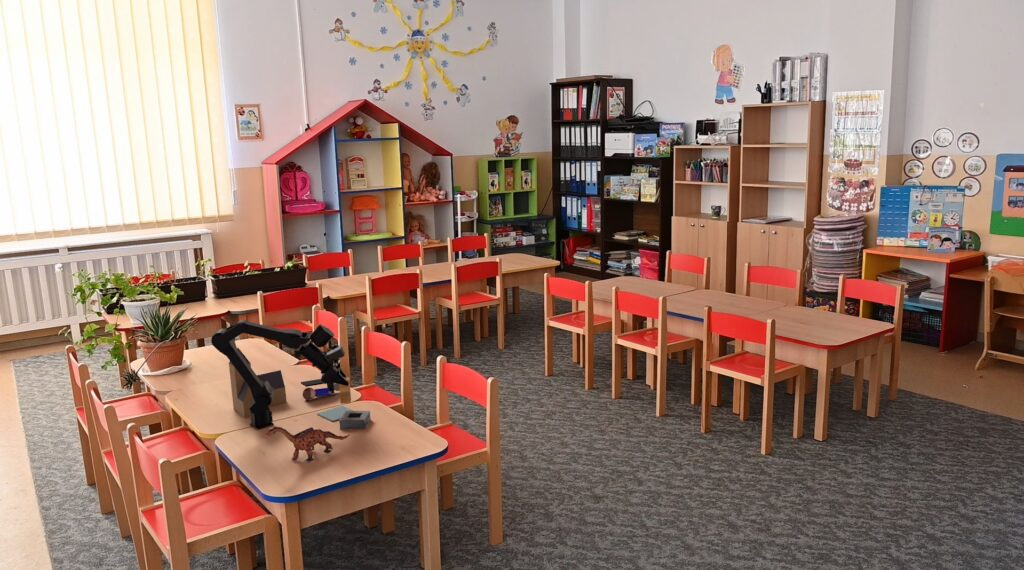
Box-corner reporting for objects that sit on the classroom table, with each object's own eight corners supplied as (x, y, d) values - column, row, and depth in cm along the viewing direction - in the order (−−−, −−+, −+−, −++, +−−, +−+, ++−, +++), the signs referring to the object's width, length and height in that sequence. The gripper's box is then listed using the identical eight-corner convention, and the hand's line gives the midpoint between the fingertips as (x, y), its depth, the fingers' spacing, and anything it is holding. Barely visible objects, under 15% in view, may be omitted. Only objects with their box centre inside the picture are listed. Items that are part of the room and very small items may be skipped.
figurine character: (335, 394, 325) (299, 398, 316) (336, 375, 324) (300, 379, 315) (342, 398, 319) (306, 402, 310) (342, 380, 318) (306, 383, 309)
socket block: (364, 429, 282) (364, 419, 282) (340, 429, 283) (339, 420, 282) (370, 419, 291) (369, 410, 290) (346, 419, 292) (345, 410, 291)
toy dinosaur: (262, 471, 250) (258, 426, 247) (336, 440, 274) (332, 398, 271) (279, 478, 245) (274, 432, 242) (352, 445, 269) (349, 403, 266)
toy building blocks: (233, 409, 307) (227, 347, 301) (280, 398, 318) (274, 337, 313) (244, 418, 297) (238, 354, 292) (292, 406, 308) (287, 344, 303)
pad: (332, 421, 290) (332, 420, 290) (317, 414, 298) (317, 413, 298) (358, 413, 297) (358, 412, 297) (342, 406, 305) (342, 405, 305)
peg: (350, 403, 290) (349, 379, 289) (340, 403, 290) (338, 380, 288) (351, 399, 294) (349, 376, 292) (341, 400, 293) (339, 377, 292)
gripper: (328, 347, 278) (362, 375, 281) (332, 333, 296) (364, 360, 299) (307, 370, 278) (341, 397, 282) (312, 355, 296) (344, 381, 300)
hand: (348, 383), depth 291 cm, fingers closed on peg, 4 cm apart
